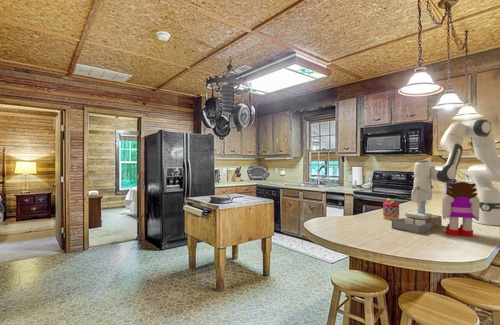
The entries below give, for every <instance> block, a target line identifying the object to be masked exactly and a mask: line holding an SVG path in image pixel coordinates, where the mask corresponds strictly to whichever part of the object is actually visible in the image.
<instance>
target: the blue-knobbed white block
mask: <svg viewBox="0 0 500 325" xmlns="http://www.w3.org/2000/svg"><path fill="white" fill-rule="evenodd" d="M421 206H422V208H421V209H419V208H418V207H417V211H415V210H414V211H409V212H405V213H404V215H405V216H404V217H405V218H406V217H412V218H418V219H428V218H432V215H433V214H432V213H427V212H426V204H425V202H422V201H421Z"/></svg>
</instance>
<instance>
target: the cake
mask: <svg viewBox="0 0 500 325" xmlns="http://www.w3.org/2000/svg"><path fill="white" fill-rule="evenodd" d="M396 201H398V198H397V197H396V198H394V199H393V200H392V199H391V198H387V199H386V202H383V203H382V205H383V207H382V210H383V211H382V215H383V216H382V217H383V219H384V220H388V221H392V220H397V219H400V204H399V203H398V202H396Z"/></svg>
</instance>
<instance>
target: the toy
mask: <svg viewBox="0 0 500 325" xmlns="http://www.w3.org/2000/svg"><path fill="white" fill-rule="evenodd" d="M447 184H448V187H447V188H446V189H447V192H446V194H447V195H443V197H441V198H442V200H441V202H442V203H441V204H442V205H441V207H442V208H441V214H442V215H441V216H442V219H443V220H447V219H448V220H449V223H448V224H446V226H445V234H447V235H448V236H449V235H450V236H455V237H457V236H458V237H459V236H463V237H471V238H472V237H474V230H473V226H472V225H473V221H472V219H475V220H477V221H479V218H480V217H479V201H480V200H479V198H478V192H477V191H478V190H477V187H476V184H475V183H474V182H473V183H469V182H466V181H456V182H450V183H447ZM476 192H477V193H476ZM459 218H462V224H460V225H459Z"/></svg>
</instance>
